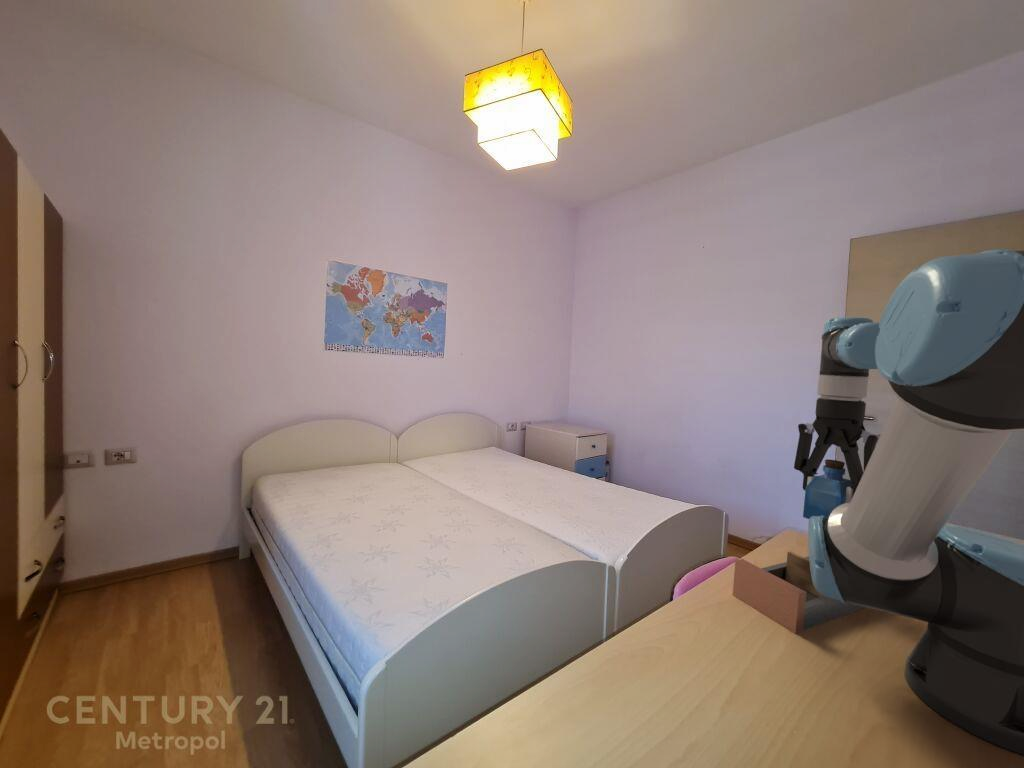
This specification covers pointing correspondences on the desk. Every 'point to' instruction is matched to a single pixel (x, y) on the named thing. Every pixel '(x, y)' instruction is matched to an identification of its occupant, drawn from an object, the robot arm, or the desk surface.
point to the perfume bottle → (826, 490)
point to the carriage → (800, 573)
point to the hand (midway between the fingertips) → (829, 513)
